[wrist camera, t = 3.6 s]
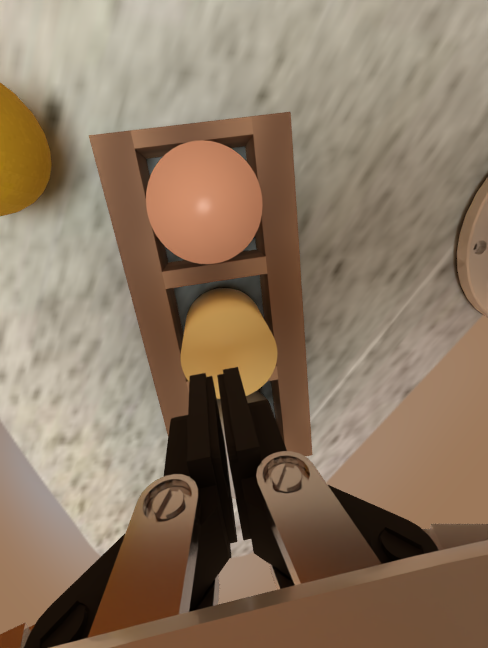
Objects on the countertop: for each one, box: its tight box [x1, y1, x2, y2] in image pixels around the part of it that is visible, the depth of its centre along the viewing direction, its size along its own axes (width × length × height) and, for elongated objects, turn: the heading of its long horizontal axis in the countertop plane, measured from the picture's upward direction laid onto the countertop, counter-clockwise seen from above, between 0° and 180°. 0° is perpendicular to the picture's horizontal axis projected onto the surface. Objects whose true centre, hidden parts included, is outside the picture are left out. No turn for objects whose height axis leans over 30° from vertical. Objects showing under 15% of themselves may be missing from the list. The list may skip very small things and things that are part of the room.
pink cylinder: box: [146, 140, 263, 264], centre depth 14 cm, size 4×4×4 cm
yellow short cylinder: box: [181, 288, 277, 399], centre depth 16 cm, size 4×4×4 cm
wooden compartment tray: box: [89, 112, 312, 456], centre depth 19 cm, size 9×20×3 cm, turn 7°
